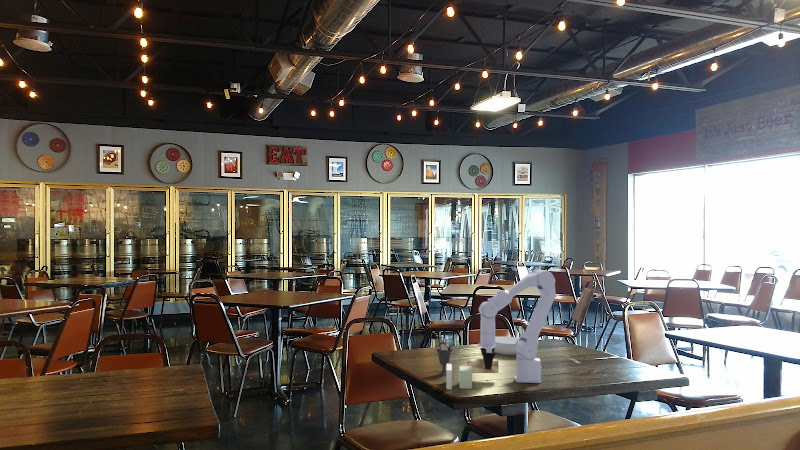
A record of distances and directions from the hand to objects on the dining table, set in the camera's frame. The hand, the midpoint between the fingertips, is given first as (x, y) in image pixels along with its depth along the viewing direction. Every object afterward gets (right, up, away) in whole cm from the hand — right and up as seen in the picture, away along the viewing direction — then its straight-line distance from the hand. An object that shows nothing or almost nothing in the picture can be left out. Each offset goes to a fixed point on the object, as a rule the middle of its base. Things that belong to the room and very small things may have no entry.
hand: (487, 367), depth 225 cm
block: (-9, -5, -7) cm, 13 cm away
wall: (-16, -5, -7) cm, 18 cm away
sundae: (-16, -6, +11) cm, 21 cm away
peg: (-2, -2, 0) cm, 3 cm away
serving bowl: (+18, -7, +54) cm, 57 cm away
